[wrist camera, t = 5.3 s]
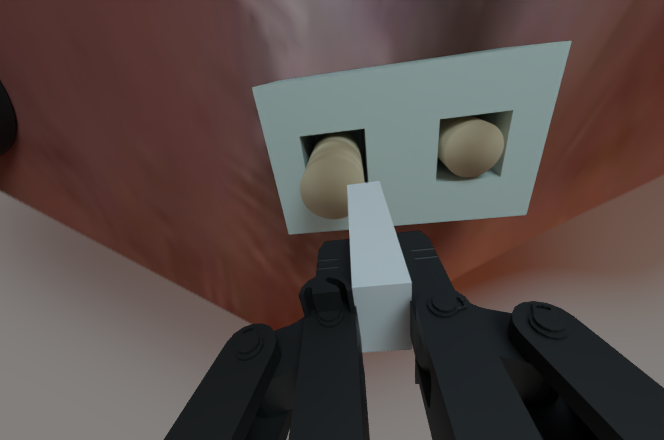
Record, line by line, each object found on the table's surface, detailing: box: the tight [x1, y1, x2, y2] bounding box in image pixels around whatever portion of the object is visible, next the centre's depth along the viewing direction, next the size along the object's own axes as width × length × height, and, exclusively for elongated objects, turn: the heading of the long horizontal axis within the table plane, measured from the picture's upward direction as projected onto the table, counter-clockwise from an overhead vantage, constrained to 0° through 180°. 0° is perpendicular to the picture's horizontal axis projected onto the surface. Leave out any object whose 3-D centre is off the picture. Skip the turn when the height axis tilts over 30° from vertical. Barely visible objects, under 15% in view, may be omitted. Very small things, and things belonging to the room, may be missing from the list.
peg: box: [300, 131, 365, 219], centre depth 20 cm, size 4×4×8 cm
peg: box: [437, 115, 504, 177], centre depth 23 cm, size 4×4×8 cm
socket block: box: [252, 41, 571, 235], centre depth 24 cm, size 20×12×9 cm, turn 97°
